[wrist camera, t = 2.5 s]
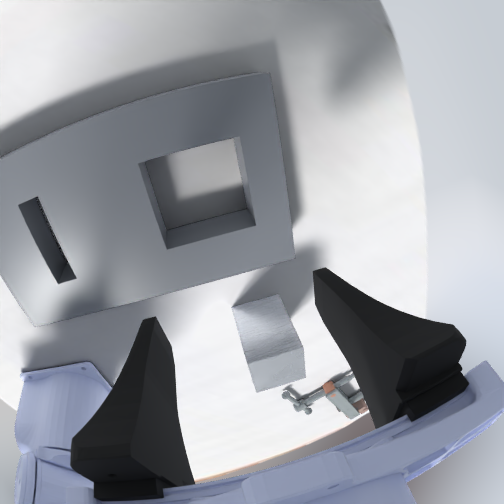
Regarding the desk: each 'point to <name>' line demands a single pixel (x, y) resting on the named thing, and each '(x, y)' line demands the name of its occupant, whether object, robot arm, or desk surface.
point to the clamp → (333, 399)
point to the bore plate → (139, 202)
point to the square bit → (269, 343)
